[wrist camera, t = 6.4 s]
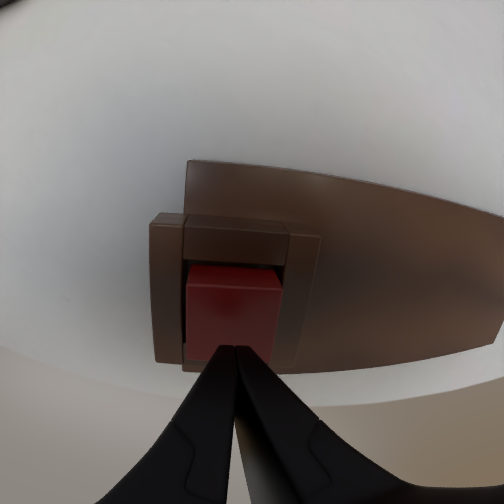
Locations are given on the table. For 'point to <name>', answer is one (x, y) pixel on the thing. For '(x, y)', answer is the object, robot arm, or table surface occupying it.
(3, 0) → the black key block
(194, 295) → the red key
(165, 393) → the table surface
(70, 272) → the table surface
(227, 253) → the walnut key block
